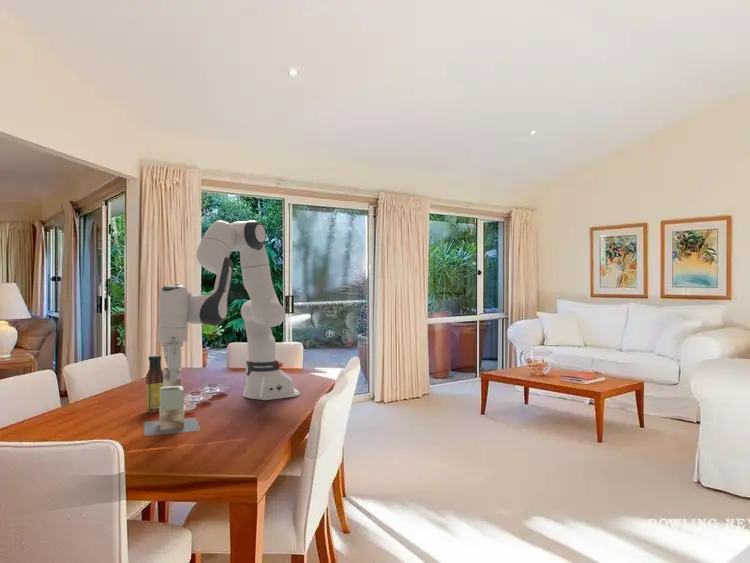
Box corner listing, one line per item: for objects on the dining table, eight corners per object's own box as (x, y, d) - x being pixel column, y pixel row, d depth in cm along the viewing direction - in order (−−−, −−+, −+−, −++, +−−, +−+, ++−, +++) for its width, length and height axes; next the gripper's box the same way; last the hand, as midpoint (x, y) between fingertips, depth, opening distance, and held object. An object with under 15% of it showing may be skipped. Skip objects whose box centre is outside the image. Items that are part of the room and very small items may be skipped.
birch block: (182, 422, 175) (182, 403, 175) (184, 428, 169) (184, 408, 169) (159, 424, 172) (159, 405, 172) (160, 430, 166) (160, 410, 166)
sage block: (181, 404, 175) (182, 385, 175) (183, 408, 169) (183, 389, 169) (160, 405, 172) (160, 387, 172) (161, 410, 166) (161, 391, 166)
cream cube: (179, 382, 174) (179, 367, 174) (180, 385, 169) (181, 369, 169) (163, 383, 172) (163, 367, 172) (163, 386, 167) (164, 370, 167)
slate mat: (195, 419, 181) (195, 417, 181) (200, 432, 167) (200, 430, 167) (143, 423, 175) (143, 422, 175) (144, 437, 160) (144, 435, 160)
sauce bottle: (169, 410, 192) (169, 355, 192) (156, 414, 186) (157, 357, 186) (154, 408, 194) (155, 353, 194) (141, 412, 188) (142, 356, 188)
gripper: (186, 339, 162) (185, 385, 162) (180, 332, 181) (180, 373, 181) (163, 340, 160) (163, 386, 160) (160, 332, 178) (160, 374, 178)
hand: (172, 379), depth 171 cm, fingers closed on cream cube, 5 cm apart
